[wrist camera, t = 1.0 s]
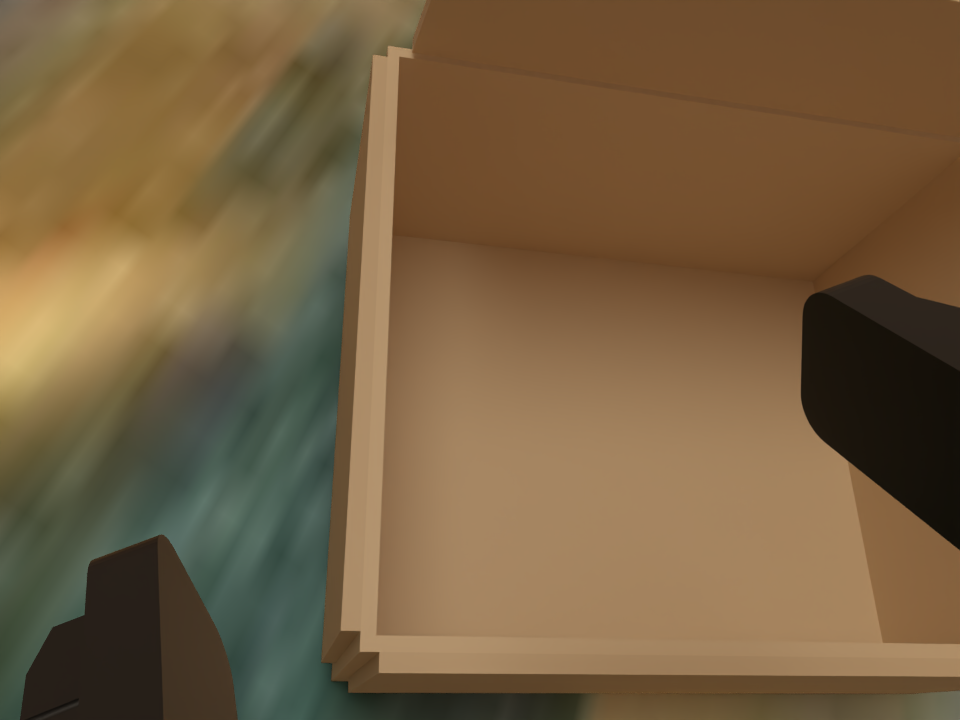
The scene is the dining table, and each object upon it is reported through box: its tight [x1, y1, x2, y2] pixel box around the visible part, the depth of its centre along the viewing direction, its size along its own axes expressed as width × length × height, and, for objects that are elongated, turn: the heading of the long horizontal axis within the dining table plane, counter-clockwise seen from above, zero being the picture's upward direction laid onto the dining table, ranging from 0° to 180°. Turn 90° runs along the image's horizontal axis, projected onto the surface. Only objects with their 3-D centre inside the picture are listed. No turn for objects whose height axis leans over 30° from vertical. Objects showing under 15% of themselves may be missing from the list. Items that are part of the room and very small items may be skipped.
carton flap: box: [412, 0, 960, 138], centre depth 26 cm, size 22×10×1 cm
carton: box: [321, 46, 960, 694], centre depth 33 cm, size 25×20×12 cm
